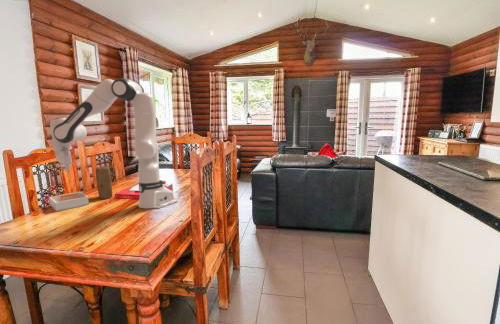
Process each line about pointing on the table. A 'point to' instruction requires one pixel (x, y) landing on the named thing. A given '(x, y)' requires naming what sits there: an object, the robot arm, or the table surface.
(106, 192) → the block
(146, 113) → the robot arm
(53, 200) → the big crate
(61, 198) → the small crate
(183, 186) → the table surface
